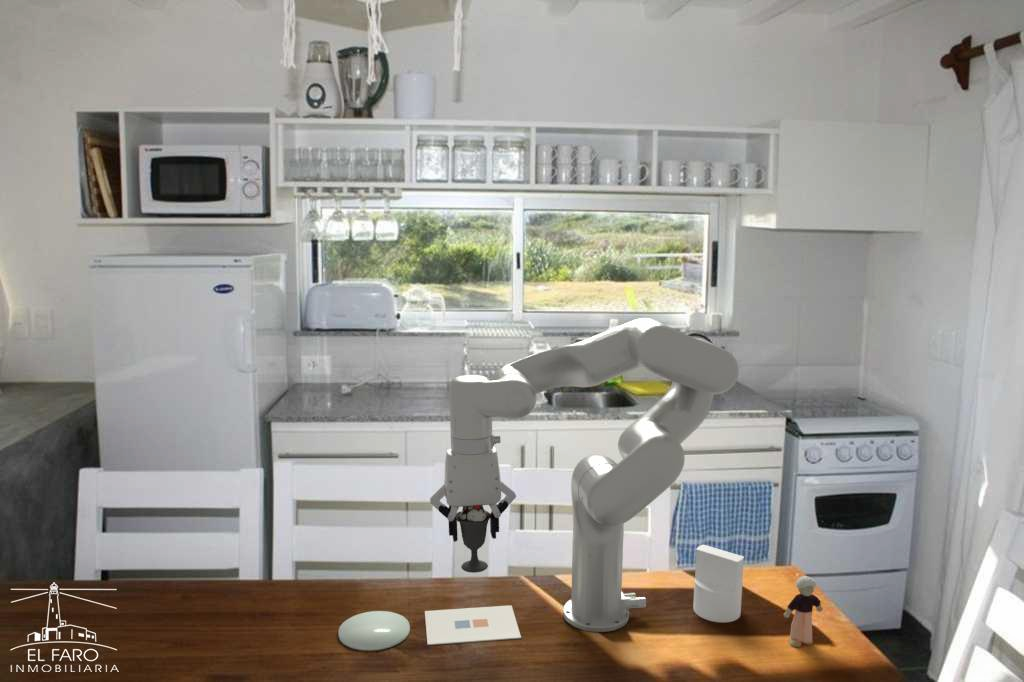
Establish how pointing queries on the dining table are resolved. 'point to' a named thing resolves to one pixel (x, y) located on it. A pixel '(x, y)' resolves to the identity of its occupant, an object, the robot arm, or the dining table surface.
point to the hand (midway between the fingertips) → (474, 536)
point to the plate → (374, 630)
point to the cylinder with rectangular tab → (718, 584)
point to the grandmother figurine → (802, 612)
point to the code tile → (471, 625)
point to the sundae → (473, 534)
